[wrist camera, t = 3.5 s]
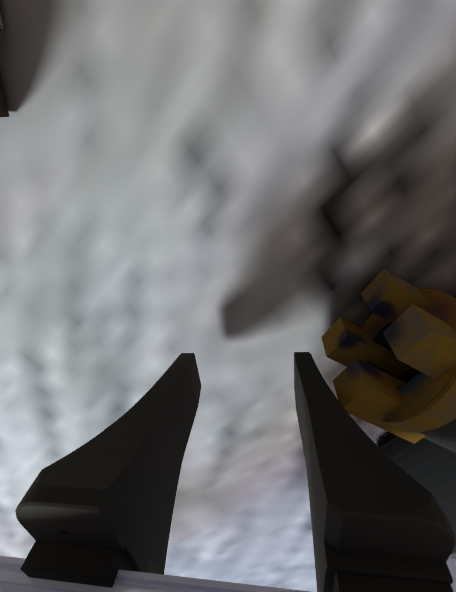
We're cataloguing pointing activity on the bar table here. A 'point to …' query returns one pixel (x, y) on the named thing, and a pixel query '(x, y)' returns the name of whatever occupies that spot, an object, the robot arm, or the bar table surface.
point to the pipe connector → (404, 379)
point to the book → (0, 101)
